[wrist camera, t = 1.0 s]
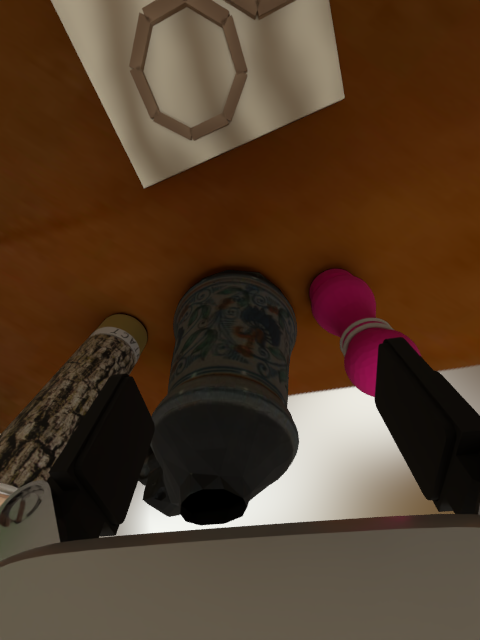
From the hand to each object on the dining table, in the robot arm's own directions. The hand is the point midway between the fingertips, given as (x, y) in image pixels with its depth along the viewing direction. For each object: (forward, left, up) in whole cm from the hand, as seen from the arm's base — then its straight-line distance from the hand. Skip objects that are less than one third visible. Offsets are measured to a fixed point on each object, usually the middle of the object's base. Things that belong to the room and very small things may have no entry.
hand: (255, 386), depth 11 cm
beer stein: (+7, +12, -28) cm, 31 cm away
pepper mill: (-8, +11, -28) cm, 31 cm away
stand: (-2, -18, -27) cm, 33 cm away
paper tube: (+22, +7, -28) cm, 36 cm away
